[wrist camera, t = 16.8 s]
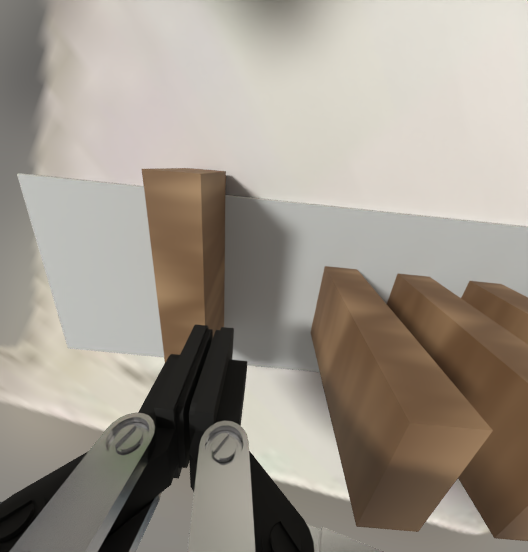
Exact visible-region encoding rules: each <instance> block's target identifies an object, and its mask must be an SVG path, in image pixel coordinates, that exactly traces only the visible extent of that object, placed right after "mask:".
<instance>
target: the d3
mask: <svg viewBox="0 0 528 552" xmlns="http://www.w3.org/2000/svg"><path fill="white" fill-rule="evenodd" d="M387 305H388V306H389V308H390V309H391V310H392V311H393V312H394V314H395V315H396V316H397V317H398V318H399V320H400V321H401V322H402V323H403V324H404V325H405V327H406V328H407V329H408V330H409V331H410V333H411V334H412V335H413V336H414V337H415V339H416V340H417V341H418V342H419V343H420V344H421V346H422V347H423V348H424V349H425V350H426V352H427V353H428V354H429V355H430V356H431V358H432V359H433V360H434V361H435V362H436V363H437V365H438V366H439V367H440V368H441V369H442V371H443V372H444V373H445V374H446V375H447V377H448V378H449V379H450V380H451V381H452V382H453V384H454V385H455V386H456V387H457V388H458V390H459V391H460V392H461V393H462V394H463V396H464V397H465V398H466V399H467V400H468V401H469V403H470V404H471V405H472V406H473V407H474V409H475V410H476V411H477V412H478V413H479V415H480V416H481V417H482V418H483V419H484V420H485V422H486V423H487V424H488V425H489V426H490V428H491V429H492V430H493V431H492V433H491V434H490V435H489V437H488V438H487V439H486V441H485V442H484V443H483V445H482V446H481V447H480V449H479V450H478V452H477V453H476V454H475V456H474V457H473V458H472V460H471V461H470V462H469V464H468V465H467V466H466V468H465V469H464V470H463V472H462V473H461V474H460V476H459V477H458V478H459V480H460V482H461V483H462V485H463V487H464V488H465V490H466V492H467V493H468V495H469V497H470V498H471V500H472V502H473V503H474V505H475V507H476V508H477V510H478V512H479V513H480V515H481V517H482V518H483V520H484V522H485V523H486V525H487V527H488V528H489V530H490V532H491V533H492V535H493V537H494V538H498V539H510V540H522V541H528V344H526V343H525V342H523V341H522V340H521V339H519V338H518V337H516V336H515V335H513V334H512V333H510V332H509V331H508V330H506V329H505V328H503V327H502V326H500V325H499V324H497V323H496V322H495V321H493V320H492V319H490V318H489V317H487V316H486V315H484V314H483V313H482V312H480V311H479V310H477V309H476V308H474V307H473V306H471V305H470V304H468V303H467V302H466V301H464V300H463V299H461V298H460V297H458V296H457V295H455V294H454V293H453V292H451V291H450V290H448V289H447V288H445V287H444V286H442V285H441V284H440V283H438V282H437V281H435V280H434V279H432V278H431V277H428V276H418V275H408V274H399V273H397V276H396V279H395V282H394V285H393V288H392V290H391V293H390V296H389V299H388V302H387Z"/></svg>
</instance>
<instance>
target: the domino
mask: <svg viewBox="0 0 528 552" xmlns="http://www.w3.org/2000/svg"><path fill="white" fill-rule="evenodd" d="M142 175H143V184H144V192H145V200H146V209H147V217H148V225H149V234H150V242H151V250H152V259H153V267H154V275H155V284H156V292H157V300H158V309H159V317H160V326H161V334H162V342H163V351H164V359H165V362H166V361H167V359H168V357H169V356H170V355H171V354H178V355H180V354H181V352H182V350H183V348H184V346H185V344H186V341H187V339H188V337H189V335H190V333H191V331H192V329H193V327H194V325H195V324H196V325H207V326H208V327H209V329H212V330H213V337H214V334H215V331H216V330H220V329H221V327H224V290H225V182H226V171H215V170H203V169H190V168H172V169H142Z"/></svg>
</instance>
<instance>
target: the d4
mask: <svg viewBox="0 0 528 552" xmlns="http://www.w3.org/2000/svg"><path fill="white" fill-rule="evenodd" d="M310 333H311V337H312V341H313V346H314V350H315V354H316V358H317V362H318V367H319V371H320V375H321V379H322V383H323V388H324V392H325V396H326V400H327V404H328V409H329V413H330V417H331V421H332V426H333V430H334V434H335V438H336V442H337V447H338V451H339V455H340V459H341V463H342V468H343V472H344V476H345V480H346V484H347V489H348V493H349V497H350V501H351V505H352V510H353V514H354V518H355V522H356V526H357V527H369V528H380V529H392V530H404V531H416V532H418V531H419V530H420V528H421V527H422V526H423V524H424V523H425V522H426V520H427V519H428V518H429V516H430V515H431V514H432V512H433V511H434V510H435V508H436V507H437V506H438V504H439V503H440V501H441V500H442V499H443V497H444V496H445V495H446V493H447V492H448V491H449V489H450V488H451V487H452V485H453V484H454V483H455V481H456V480H457V479H458V477H459V476H460V474H461V473H462V472H463V470H464V469H465V468H466V466H467V465H468V464H469V462H470V461H471V460H472V458H473V457H474V456H475V454H476V453H477V452H478V450H479V449H480V447H481V446H482V445H483V443H484V442H485V441H486V439H487V438H488V437H489V435H490V434H491V433H492V431H493V430H492V429H491V428H490V426H489V425H488V424H487V423H486V422H485V420H484V419H483V418H482V417H481V416H480V415H479V413H478V412H477V411H476V410H475V409H474V407H473V406H472V405H471V404H470V403H469V401H468V400H467V399H466V398H465V397H464V396H463V394H462V393H461V392H460V391H459V390H458V388H457V387H456V386H455V385H454V384H453V382H452V381H451V380H450V379H449V378H448V377H447V375H446V374H445V373H444V372H443V371H442V369H441V368H440V367H439V366H438V365H437V363H436V362H435V361H434V360H433V359H432V358H431V356H430V355H429V354H428V353H427V352H426V350H425V349H424V348H423V347H422V346H421V344H420V343H419V342H418V341H417V340H416V339H415V337H414V336H413V335H412V334H411V333H410V331H409V330H408V329H407V328H406V327H405V325H404V324H403V323H402V322H401V321H400V320H399V318H398V317H397V316H396V315H395V314H394V312H393V311H392V310H391V309H390V308H389V306H388V305H387V304H386V303H385V302H384V301H383V299H382V298H381V297H380V296H379V295H378V293H377V292H376V291H375V290H374V289H373V287H372V286H371V285H370V284H369V283H368V282H367V280H366V279H365V278H364V277H363V276H362V274H361V273H360V272H359V271H358V270H357V269H349V268H339V267H329V266H325V267H324V272H323V277H322V281H321V286H320V291H319V295H318V300H317V304H316V309H315V314H314V318H313V323H312V328H311V332H310Z"/></svg>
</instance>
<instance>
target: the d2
mask: <svg viewBox="0 0 528 552" xmlns="http://www.w3.org/2000/svg"><path fill="white" fill-rule="evenodd" d="M461 299H463V300H464V301H466V302H467V303H468V304H470V305H471V306H473V307H474V308H476V309H477V310H479V311H480V312H482V313H483V314H484V315H486V316H487V317H489V318H490V319H492V320H493V321H495V322H496V323H497V324H499V325H500V326H502V327H503V328H505V329H506V330H508V331H509V332H510V333H512V334H513V335H515V336H516V337H518V338H519V339H521V340H522V341H523V342H525V343H526V344H528V297H526V296H524V295H522V294H520V293H518V292H516V291H514V290H512V289H510V288H508V287H506V286H505V285H503V284H497V283H487V282H478V281H469V283H468V285H467V287H466V289H465V291H464V293H463V295H462V297H461Z"/></svg>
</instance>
